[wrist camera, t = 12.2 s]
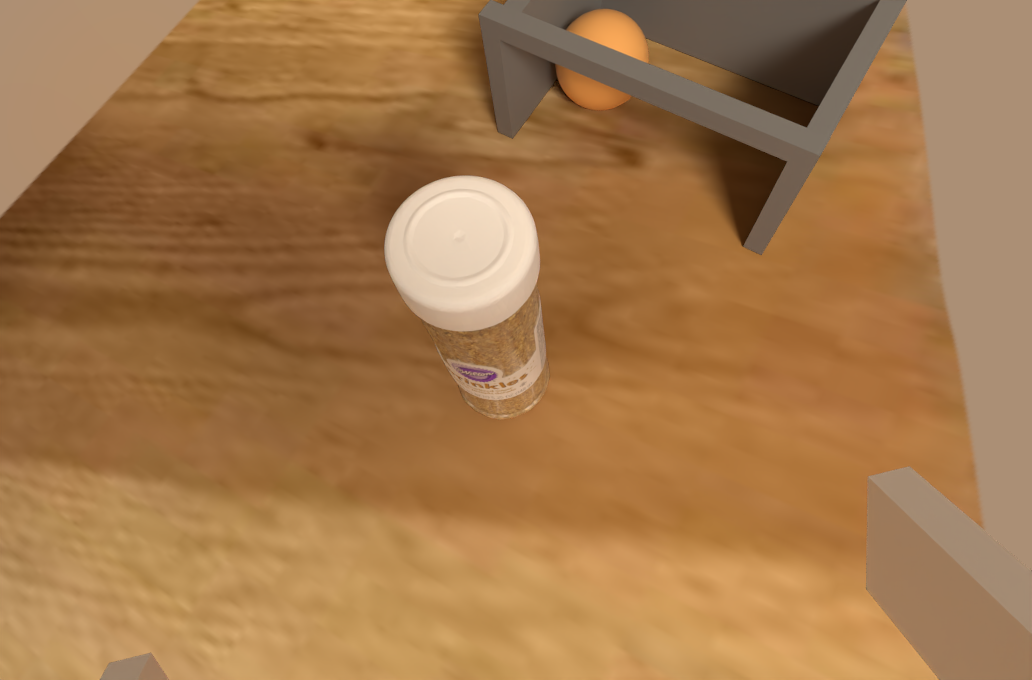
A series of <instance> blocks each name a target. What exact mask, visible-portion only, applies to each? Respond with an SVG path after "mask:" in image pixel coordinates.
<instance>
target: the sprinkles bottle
mask: <svg viewBox="0 0 1032 680" xmlns="http://www.w3.org/2000/svg"><path fill="white" fill-rule="evenodd" d="M384 253H385V261H386V265H387V269H388V271H389V274H390V276H391V278H392V280H393V282H394V284H395V286H396V288H397V290H398V292H399V293H400V295H401V297H402V299H403V300H404V302H405V303H406V305H407V306H408V307H409V308H410V309H411V311H412V312H414V313H415V314H416V315H417V316H418V317H420V318H421V320H422V322H423V324H424V325H425V327H426V329H427V330H428V332H429V334H430V336H431V337H432V339H433V341H434V342H435V346H436V348H437V350H438V353H439V355H440V356H441V358H442V360H443V362H444V364H445V366H446V367H447V369H448V371H449V372H450V374H451V376H452V377H453V379H454V380H455V381H456V382H457V383H458V387H459V388H460V392H461V394H462V397H463V398H464V400H465V401H466V403H467V404H468V405H470V406H471V407H472V408H473V409H474V410H476V411H477V412H479V413H481V414H482V415H485V416H487V417H490V418H495V419H498V420H499V419H509V418H514V417H517V416H519V415H521V414H524V413H526V412H528V411H530V410H531V409H532V408H533V407H534V406H535V405H536V404H537V403H538V402H539V401H540V400H541V398H542V396H543V395H544V393H545V391H546V389H547V386H548V382H549V378H550V372H549V364H548V360H547V357H546V344H545V336H544V328H543V320H542V310H541V301H540V295H539V291H538V288H537V279H538V275H539V270H540V253H539V244H538V237H537V231H536V226H535V223H534V220H533V217H532V215H531V213H530V211H529V209H528V208H527V206H526V205H525V203H524V202H523V201H522V199H521V198H520V197H518V196H517V194H516V193H514V192H513V191H512V190H510V189H509V188H507V187H506V186H504V185H503V184H501V183H498V182H496V181H494V180H491V179H487V178H484V177H479V176H467V175H466V176H452V177H447V178H443V179H440V180H437V181H434V182H432V183H429V184H427V185H425V186H423V187H421V188H420V189H418V190H417V191H415V192H414V193H413V194H412V195H410V196H409V197H408V198H407V199H406V200H405V201H404V202H403V203H402V204H401V206H400V207H399V208H398V209H397V211H396V212H395V214H394V216H393V217H392V219H391V221H390V223H389V226H388V229H387V232H386V237H385V244H384Z"/></svg>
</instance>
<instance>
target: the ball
mask: <svg viewBox="0 0 1032 680" xmlns="http://www.w3.org/2000/svg"><path fill="white" fill-rule="evenodd" d="M566 30H567V31H569V32H572V33H574V34H577V35H579V36H582V37H584V38H586V39H589V40H591V41H594V42H596V43H599V44H601V45H604V46H606V47H609V48H611V49H614V50H616V51H619V52H621V53H624V54H626V55H628V56H631V57H633V58H636V59H638V60H641V61H643V62H646V63H648V62H649V51H648V45H647V41H646V38H645V36H644V34H643V32H642V30H641V29H640V27H639V26H638V24H637V23H636V22H635V21H634V20H633V19H632V18H630V17H629V16H627V15H626V14H624V13H622V12H619V11H616V10H612V9H597V10H593V11H590V12H587V13H585V14H583V15H581V16H580V17H578V18H577V19H575V20H574V21H573V22H572V23H571V24H570V25H569V26H568V28H567V29H566ZM555 68H556V74H557V78H558V81H559V83H560V85H561V87H562V89H563V91H564V92H565V94H566V95H567V96H568V97H569V98H570V99H571V100H572V101H574V102H575V103H576V104H578V105H580V106H582V107H584V108H587V109H591V110H608V109H612V108H615V107H618V106H620V105H621V104H623V103H625V102H626V101H628V100H629V99H630V98H631V97H632V96H631V95H629V94H626V93H624V92H621V91H619V90H617V89H614V88H612V87H610V86H607V85H605V84H602V83H600V82H598V81H595V80H593V79H591V78H588V77H586V76H584V75H581V74H579V73H576V72H574V71H572V70H569V69H567V68H565V67H562V66H560V65H558V64H555Z"/></svg>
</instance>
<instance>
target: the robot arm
mask: <svg viewBox="0 0 1032 680" xmlns="http://www.w3.org/2000/svg"><path fill="white" fill-rule="evenodd" d="M866 590H867V591H868V592H869V593H870V594H871V596H872V597H873V598H874V599H875V601H876V602H877V603H878V604H879V606H880V607H881V608H882V609H883V611H884V612H885V613H886V614H887V615H888V617H889V618H890V619H891V620H892V622H893V623H894V624H895V625H896V627H897V628H898V629H899V630H900V632H901V633H902V634H903V635H904V636H905V638H906V639H907V640H908V641H909V643H910V644H911V645H912V646H913V648H914V649H915V650H916V651H917V652H918V654H919V655H920V656H921V657H922V659H923V660H924V661H925V662H926V664H927V665H928V666H929V667H930V669H931V670H932V671H933V672H934V673H935V675H936V676H937V677H938V678H939V680H1032V570H1031V569H1029V568H1028V567H1027V566H1026V565H1024V564H1023V563H1022V562H1021V561H1020V560H1019V559H1018V558H1016V557H1015V556H1014V555H1013V554H1012V553H1010V552H1009V551H1008V550H1007V549H1006V548H1005V547H1004V546H1002V545H1001V544H1000V543H999V542H998V541H996V540H995V539H994V538H993V537H992V536H991V535H989V534H988V533H987V532H986V531H985V530H984V529H982V528H981V527H980V526H979V525H978V524H977V523H975V522H974V521H973V520H972V519H971V518H970V517H968V516H967V515H966V514H965V513H964V512H962V511H961V510H960V509H959V508H958V507H957V506H955V505H954V504H953V503H952V502H951V501H950V500H948V499H947V498H946V497H945V496H944V495H943V494H941V493H940V492H939V491H938V490H937V489H935V488H934V487H933V486H932V485H931V484H930V483H928V482H927V481H926V480H925V479H924V478H923V477H921V476H920V475H919V474H918V473H917V472H916V471H914V470H913V469H912V468H911V467H910V466H909V467H905V468H901V469H897V470H893V471H889V472H884V473H880V474H876V475H872V476H868V500H867V563H866ZM100 680H169V679H168V677H167V676H166V674H165V673H164V671H163V670H162V668H161V667H160V665H159V664H158V662H157V661H156V659H155V658H154V656H153V655H152V653H148V654H144V655H140V656H136V657H132V658H128V659H124V660H120V661H116V662H111V663H109V664H108V666H107V668H106V670H105V671H104V673H103V675H102V676H101V678H100Z"/></svg>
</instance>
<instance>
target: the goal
mask: <svg viewBox="0 0 1032 680" xmlns="http://www.w3.org/2000/svg"><path fill="white" fill-rule="evenodd" d="M906 1H907V0H507V1H506V3H505V4H504V5H502V4H500V3H498V2H495V1H493V0H490V1H489V2H488V3H487V5H486V6H485V7H484V8H483V10H482V11H481V12H480V13H479V20H480V26H481V32H482V38H483V44H484V50H485V56H486V62H487V69H488V75H489V81H490V87H491V93H492V99H493V105H494V111H495V117H496V123H497V129H498V132H500V133H502V134H504V135H506V136H508V137H510V138H512V139H513V138H514V136H515V135H516V133H517V132H518V131H519V129H520V128H521V127H522V125H523V124H524V123H525V121H526V120H527V119H528V117H529V116H530V115H531V113H532V112H533V111H534V109H535V108H536V106H537V105H538V104H539V102H540V101H541V100H542V98H543V97H544V96H545V94H546V93H547V92H548V90H549V89H550V88H551V86H552V85H553V83H554V82H555V81H556V79H557V74H556V68H555V64H558V65H560V66H562V67H565V68H567V69H569V70H572V71H574V72H576V73H579V74H581V75H584V76H586V77H588V78H591V79H593V80H595V81H598V82H600V83H602V84H605V85H607V86H610V87H612V88H614V89H617V90H619V91H621V92H624V93H626V94H629V95H631V96H633V97H636V98H638V99H640V100H643V101H645V102H647V103H650V104H652V105H655V106H657V107H659V108H662V109H664V110H666V111H669V112H671V113H673V114H676V115H678V116H681V117H683V118H685V119H688V120H690V121H692V122H695V123H697V124H699V125H702V126H704V127H707V128H709V129H711V130H714V131H716V132H718V133H721V134H723V135H725V136H728V137H730V138H733V139H735V140H737V141H740V142H742V143H744V144H747V145H749V146H752V147H754V148H756V149H759V150H761V151H763V152H766V153H768V154H770V155H773V156H775V157H778V158H780V159H782V160H785V161H787V163H786V165H785V167H784V169H783V171H782V173H781V175H780V177H779V178H778V180H777V182H776V184H775V186H774V188H773V190H772V192H771V194H770V196H769V198H768V200H767V202H766V203H765V205H764V207H763V209H762V211H761V213H760V215H759V217H758V219H757V221H756V223H755V225H754V226H753V228H752V230H751V232H750V234H749V236H748V238H747V240H746V242H745V244H744V246H743V247H745V248H747V249H749V250H752V251H754V252H756V253H758V254H760V255H762V253H763V252H764V250H765V248H766V247H767V245H768V243H769V242H770V240H771V238H772V237H773V235H774V233H775V232H776V230H777V228H778V226H779V225H780V223H781V221H782V220H783V218H784V216H785V215H786V213H787V211H788V210H789V208H790V206H791V205H792V203H793V201H794V199H795V198H796V196H797V194H798V193H799V191H800V189H801V188H802V186H803V184H804V183H805V181H806V179H807V178H808V176H809V174H810V173H811V171H812V169H813V167H814V166H815V164H816V162H817V161H818V159H819V157H820V156H821V154H822V152H823V150H824V148H825V147H826V145H827V143H828V141H829V140H830V138H831V135H832V133H833V131H834V130H835V128H836V126H837V124H838V122H839V121H840V119H841V117H842V115H843V114H844V112H845V110H846V108H847V106H848V105H849V103H850V101H851V99H852V97H853V96H854V94H855V92H856V90H857V88H858V87H859V85H860V83H861V81H862V80H863V78H864V76H865V74H866V72H867V71H868V69H869V67H870V65H871V63H872V62H873V60H874V58H875V56H876V54H877V53H878V51H879V49H880V47H881V46H882V44H883V42H884V40H885V38H886V37H887V35H888V33H889V31H890V29H891V28H892V26H893V24H894V22H895V20H896V19H897V17H898V15H899V13H900V12H901V10H902V8H903V6H904V4H905V3H906ZM597 9H612V10H616V11H619V12H622V13H624V14H626V15H627V16H629V17H630V18H632V19H633V20H634V21H635V22H636V23H637V24H638V26H639V27H640V29H641V30H642V32H643V34H644V36H645V38H647V39H650V40H652V41H655V42H658V43H660V44H663V45H665V46H668V47H670V48H673V49H675V50H678V51H680V52H683V53H685V54H688V55H691V56H693V57H696V58H698V59H701V60H703V61H706V62H708V63H711V64H713V65H716V66H719V67H721V68H724V69H726V70H729V71H731V72H734V73H736V74H739V75H741V76H744V77H746V78H749V79H752V80H754V81H757V82H759V83H762V84H764V85H767V86H769V87H772V88H774V89H777V90H780V91H782V92H785V93H787V94H790V95H792V96H795V97H797V98H800V99H802V100H805V101H807V102H810V103H813V104H815V105H818V106H819V107H818V109H817V111H816V113H815V114H814V116H813V118H812V120H811V121H810V123H809V125H808V127H807V128H806V127H804V126H801V125H799V124H796V123H794V122H791V121H789V120H787V119H784V118H782V117H779V116H777V115H774V114H772V113H769V112H767V111H764V110H762V109H759V108H757V107H754V106H752V105H749V104H747V103H745V102H742V101H740V100H737V99H735V98H732V97H730V96H727V95H725V94H722V93H720V92H717V91H715V90H712V89H710V88H708V87H705V86H703V85H700V84H698V83H695V82H693V81H690V80H688V79H685V78H683V77H680V76H678V75H675V74H673V73H670V72H668V71H666V70H663V69H661V68H658V67H656V66H653V65H651V64H648V63H646V62H643V61H641V60H638V59H636V58H633V57H631V56H628V55H626V54H624V53H621V52H619V51H616V50H614V49H611V48H609V47H606V46H604V45H601V44H599V43H596V42H594V41H591V40H589V39H586V38H584V37H582V36H579V35H577V34H574V33H572V32H569V31H567V30H566V29H567V28H568V26H569V25H570V24H571V23H572V22H573V21H574V20H575V19H577V18H578V17H580V16H581V15H583V14H585V13H587V12H590V11H593V10H597Z"/></svg>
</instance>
